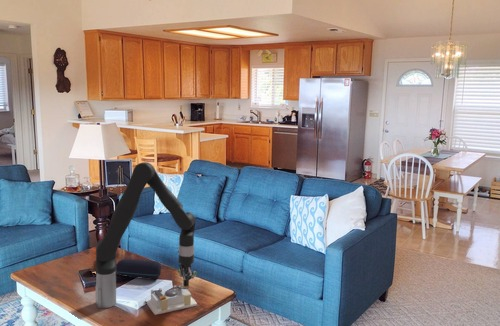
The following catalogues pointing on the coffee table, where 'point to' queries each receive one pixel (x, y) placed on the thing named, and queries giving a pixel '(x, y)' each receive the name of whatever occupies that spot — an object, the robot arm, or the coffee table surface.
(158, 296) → the strap near
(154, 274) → the portable speaker
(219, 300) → the coffee table surface
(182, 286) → the strap far
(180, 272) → the mechanical component
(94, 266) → the cup and saucer
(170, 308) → the base
